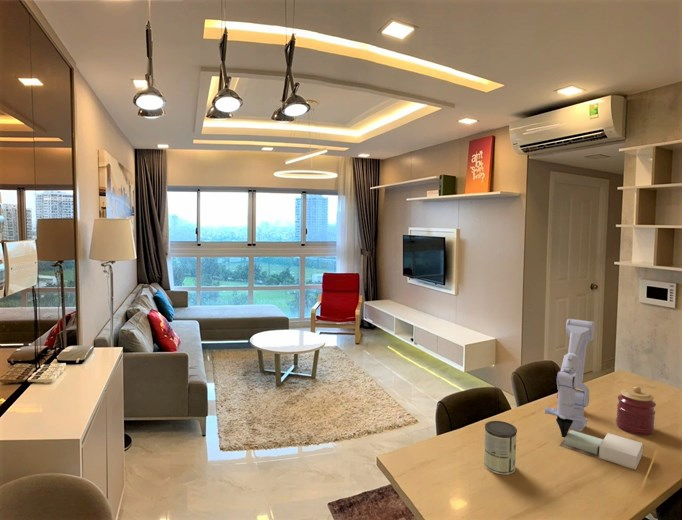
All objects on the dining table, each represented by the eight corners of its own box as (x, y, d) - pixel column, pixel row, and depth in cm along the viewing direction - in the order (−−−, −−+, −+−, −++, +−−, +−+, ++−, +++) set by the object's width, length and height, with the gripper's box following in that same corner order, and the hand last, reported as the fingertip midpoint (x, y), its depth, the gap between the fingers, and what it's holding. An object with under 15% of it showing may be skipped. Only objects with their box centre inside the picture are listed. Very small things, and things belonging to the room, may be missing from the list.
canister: (653, 439, 169) (656, 395, 168) (614, 429, 177) (616, 387, 175) (654, 427, 180) (657, 385, 178) (617, 418, 187) (619, 378, 186)
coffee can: (482, 457, 156) (483, 419, 155) (512, 460, 154) (514, 421, 153) (485, 473, 146) (486, 432, 145) (518, 476, 144) (519, 436, 143)
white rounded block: (598, 457, 155) (599, 445, 155) (607, 444, 164) (607, 432, 164) (635, 469, 148) (636, 456, 147) (642, 455, 157) (642, 443, 156)
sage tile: (564, 443, 165) (564, 437, 164) (570, 435, 171) (571, 429, 171) (597, 454, 157) (597, 448, 157) (602, 445, 163) (603, 439, 163)
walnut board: (559, 447, 163) (559, 445, 163) (570, 433, 174) (570, 432, 174) (635, 472, 147) (635, 470, 147) (642, 455, 157) (642, 454, 157)
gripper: (542, 400, 169) (541, 433, 171) (584, 411, 159) (582, 447, 161) (548, 395, 174) (547, 427, 176) (589, 405, 165) (587, 440, 166)
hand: (564, 436), depth 169 cm, fingers closed
